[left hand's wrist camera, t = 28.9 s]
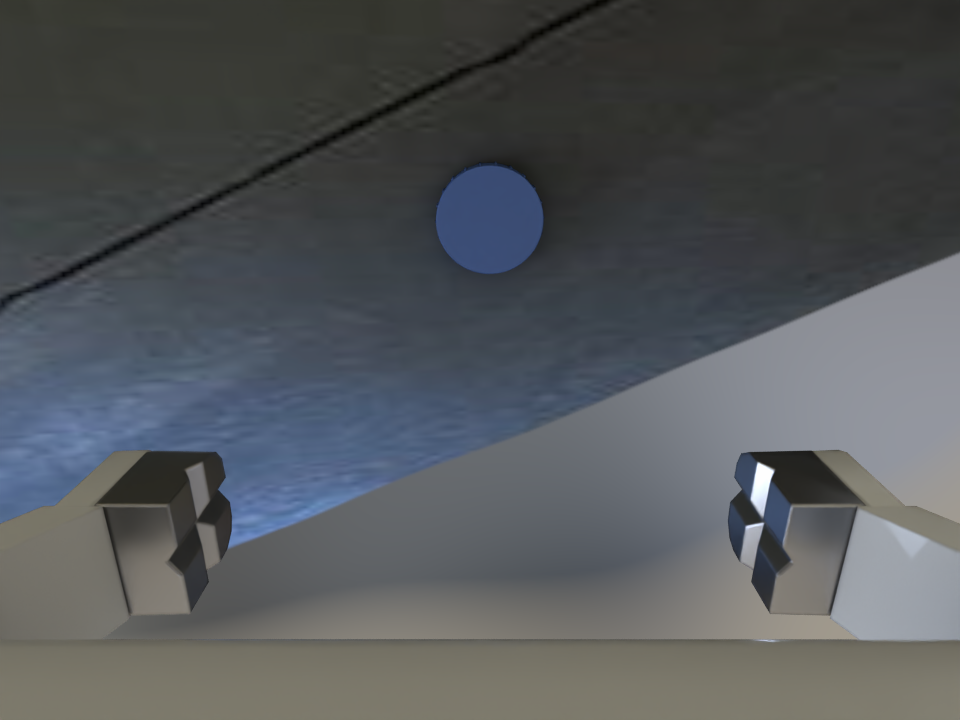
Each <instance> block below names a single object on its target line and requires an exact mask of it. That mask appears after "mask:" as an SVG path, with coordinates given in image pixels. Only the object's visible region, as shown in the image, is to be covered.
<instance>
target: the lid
mask: <svg viewBox="0 0 960 720" xmlns="http://www.w3.org/2000/svg"><path fill="white" fill-rule="evenodd" d="M525 177H526V176H525V175H524V174H521V173H519V172H518V171H516V170H515V169H513V168H512V167H511V166H509V167H508V166H506V165H502V164H498V163H497V162H494V163H482V164H481V162H479V164H477V165H474V166H471V167H469V168H467V167H465V168H464V170H463V171H461V172H460V173H458V174H457V175H456V176H455V177H454V176H453V177H452V179H451V181H450V182H449V184H448V185H447V187H446V188H444V189H443V191H442V193H443V194H442V196H441V198H440V201H439V202H438V204H437V206H436V207H438V208H437V213H436V220H435V223H436V227H437V232H438V238H439V239H440V241H441V243H442V245H443V247H444V249H445V251H446V252H447V253H448V254H449V256H450V257H451V258H452V259H453V260H454V261H455V262H457V263H458V264H459V265H461V266H462V267H464V268H466V269H468V270H471V271H474V272H478V273H483V274H496V273H502V272H505V271H508V270H511V269H513V268H515V267H517V266H518V265H520V264H521V263H522V262H524V261H525V260H526V259H527V258H528V257H529V256H530V255H531V254H532V252H533V251H534V250H535V248H536V246H537V244H538V242H539V240H540V237H541V234H542V230H543V219H544V216H543V209H542V205H541V204H542V201H541V200H540V199H539V197H538V194H537V193H536V191H535V189H536V188H535V187H534V185H531V184H530V182H529V181H528V180H527V179H526V178H525Z"/></svg>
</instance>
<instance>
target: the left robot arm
mask: <svg viewBox="0 0 960 720" xmlns="http://www.w3.org/2000/svg"><path fill="white" fill-rule="evenodd" d="M225 478H226V477H225V472H224V467H223V462H222V458H221V457H220V456H219V455H218V454H217V453H216V452H193V451H150V450H134V451H116V452H113V453H112V454H111V455H110V456H109V457H108V458H107V459H106V460H105V461H103V462H102V463H101V464H100V465H99V466H98V467H97V468H96V469H95V470H94V471H92V472H91V473H90V474H89V475H88V476H87V477H86V478H85V479H84V480H83V481H82V482H80V483H79V484H78V485H77V486H76V487H75V488H74V489H73V490H72V491H71V492H69V493H68V494H67V495H66V496H65V497H64V498H63V499H62V500H61V501H60V502H59V503H57V504H56V505H55V506H43V507H41V508H38V509H36V510H33V511H31V512H28V513H26V514H23V515H21V516H18V517H16V518H13V519H11V520H8V521H6V522H3V523H1V524H0V720H960V524H959V523H956V522H954V521H951V520H949V519H947V518H944V517H942V516H939V515H937V514H934V513H932V512H929V511H927V510H924V509H922V508H919V507H917V506H905V505H904V504H903V503H902V502H900V501H899V500H898V499H897V498H896V497H895V496H894V495H893V494H892V493H891V492H889V491H888V490H887V489H886V488H885V487H884V486H883V485H882V484H881V483H880V482H879V481H878V480H876V479H875V478H874V477H873V476H872V475H871V474H870V473H869V472H868V471H867V470H865V469H864V468H863V467H862V466H861V465H860V464H859V463H858V462H857V461H856V460H855V459H853V458H852V457H851V456H850V455H849V454H848V453H847V452H844V451H840V450H826V451H776V452H747V453H741V455H740V457H739V460H738V462H737V465H736V471H735V479H736V481H737V482H738V484H739V485H740V487H741V488H742V490H741V491H740V492H739V493H738V494H737V496H736V497H735V498H734V499H733V500H732V501H731V502H730V508H729V516H728V526H729V537H730V541H731V544H732V547H733V550H734V552H735V554H736V556H737V558H738V560H739V561H740V562H741V563H743V564H744V565H746V566H747V567H749V568H751V569H752V570H753V575H752V581H751V582H752V584H753V585H754V587H755V589H756V591H757V592H758V594H759V596H760V597H761V599H762V601H763V603H764V604H765V606H766V608H767V609H768V611H769V613H770V614H791V615H829V616H830V619H832V620H833V621H835V622H836V623H837V624H839V625H840V626H841V627H843V628H844V629H845V630H847V631H848V632H849V633H851V634H852V635H853V636H855V637H856V638H857V639H859V640H448V639H447V640H442V639H439V640H435V639H434V640H432V639H429V640H425V639H424V640H423V639H421V640H420V639H419V640H417V639H416V640H412V639H411V640H408V639H407V640H405V639H403V640H402V639H399V640H395V639H394V640H392V639H391V640H386V639H384V640H383V639H381V640H380V639H377V640H373V639H372V640H371V639H367V640H366V639H364V640H363V639H359V640H358V639H355V640H354V639H353V640H352V639H351V640H350V639H347V640H346V639H345V640H344V639H343V640H341V639H335V640H334V639H330V640H329V639H318V640H317V639H316V640H315V639H311V640H310V639H308V640H307V639H300V640H299V639H103V638H104V637H106V636H107V635H108V634H110V633H111V632H112V631H114V630H115V629H116V628H118V627H119V626H120V625H122V624H123V623H124V622H126V621H127V620H128V619H129V618H130V616H131V615H167V614H190V613H191V611H192V609H193V608H194V606H195V604H196V603H197V601H198V599H199V597H200V596H201V594H202V592H203V591H204V589H205V587H206V586H207V584H208V582H209V581H208V575H207V570H208V569H209V568H211V567H213V566H214V565H216V564H217V563H219V562H220V561H221V559H222V558H223V556H224V554H225V552H226V550H227V548H228V544H229V540H230V535H231V531H232V514H231V507H230V502H229V501H228V500H227V499H226V498H225V497H224V496H223V495H222V493H221V492H220V491H219V490H218V488H219V487H220V485H221V484H222V482H223V481H224V479H225Z"/></svg>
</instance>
